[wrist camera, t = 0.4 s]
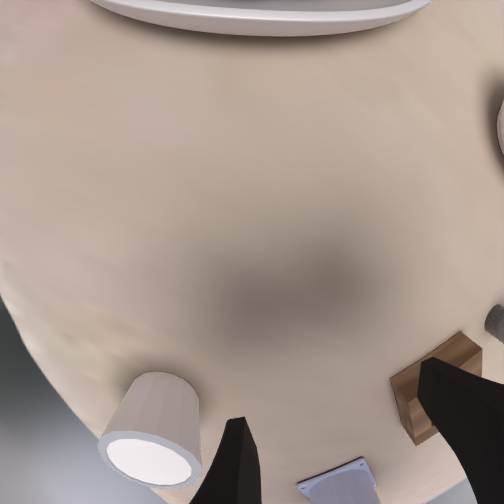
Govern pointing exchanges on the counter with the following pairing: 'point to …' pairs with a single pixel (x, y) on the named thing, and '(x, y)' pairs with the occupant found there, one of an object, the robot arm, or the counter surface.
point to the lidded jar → (501, 127)
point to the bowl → (267, 15)
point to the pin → (496, 322)
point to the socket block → (406, 382)
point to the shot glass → (155, 433)
